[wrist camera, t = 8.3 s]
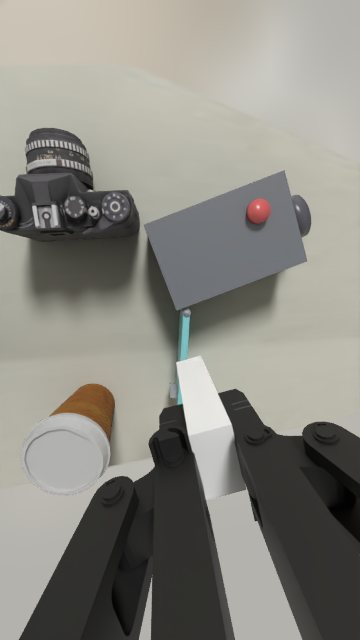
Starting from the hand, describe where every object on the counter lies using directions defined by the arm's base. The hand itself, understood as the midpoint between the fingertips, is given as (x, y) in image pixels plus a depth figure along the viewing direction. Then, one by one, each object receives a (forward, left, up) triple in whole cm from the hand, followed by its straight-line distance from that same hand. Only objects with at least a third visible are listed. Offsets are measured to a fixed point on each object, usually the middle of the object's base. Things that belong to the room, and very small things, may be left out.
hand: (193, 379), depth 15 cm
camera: (-6, +18, -22) cm, 30 cm away
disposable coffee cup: (-17, -8, -22) cm, 29 cm away
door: (-2, -4, -21) cm, 22 cm away
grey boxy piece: (+9, +6, -22) cm, 25 cm away
